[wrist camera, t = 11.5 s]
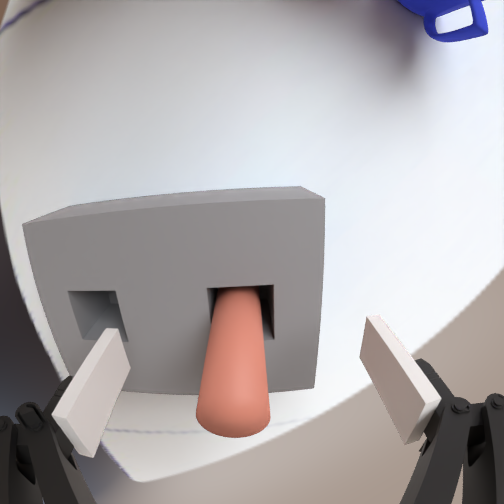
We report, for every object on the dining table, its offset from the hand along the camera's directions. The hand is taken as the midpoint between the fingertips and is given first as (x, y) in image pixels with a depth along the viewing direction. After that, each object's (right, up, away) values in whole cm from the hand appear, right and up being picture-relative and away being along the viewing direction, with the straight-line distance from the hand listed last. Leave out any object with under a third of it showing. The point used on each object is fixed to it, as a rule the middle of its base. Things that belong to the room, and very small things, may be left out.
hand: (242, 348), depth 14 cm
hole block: (-5, +3, +10) cm, 12 cm away
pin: (-1, +3, +9) cm, 10 cm away
